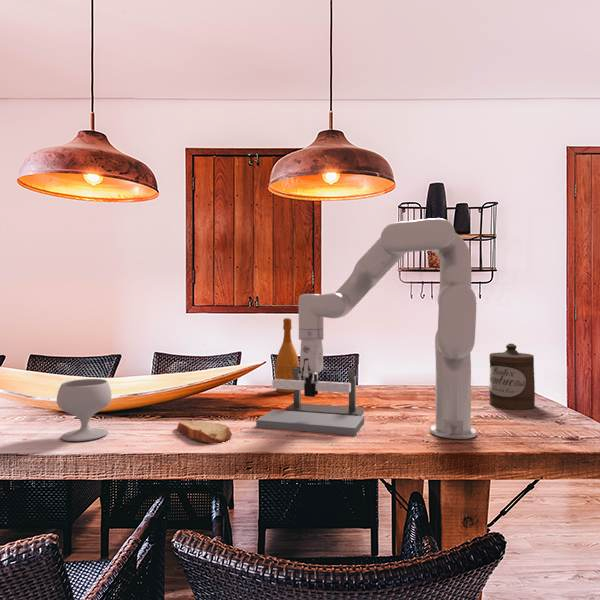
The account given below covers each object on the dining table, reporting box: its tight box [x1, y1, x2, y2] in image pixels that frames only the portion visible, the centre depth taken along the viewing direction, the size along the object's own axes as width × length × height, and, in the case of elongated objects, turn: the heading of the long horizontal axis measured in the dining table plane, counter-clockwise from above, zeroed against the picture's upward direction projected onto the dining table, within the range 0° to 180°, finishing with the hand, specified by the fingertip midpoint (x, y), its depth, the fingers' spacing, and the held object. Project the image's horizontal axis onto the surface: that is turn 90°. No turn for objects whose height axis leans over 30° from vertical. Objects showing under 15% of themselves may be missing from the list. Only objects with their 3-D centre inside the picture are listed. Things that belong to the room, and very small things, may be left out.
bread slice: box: [176, 420, 233, 444], centre depth 137 cm, size 18×18×4 cm
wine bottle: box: [274, 317, 300, 394], centre depth 200 cm, size 10×10×30 cm
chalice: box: [56, 378, 112, 442], centre depth 136 cm, size 14×14×15 cm
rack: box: [283, 366, 365, 416], centre depth 163 cm, size 10×25×15 cm, turn 73°
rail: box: [271, 378, 351, 394], centre depth 147 cm, size 2×24×2 cm, turn 73°
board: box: [255, 409, 365, 436], centre depth 147 cm, size 14×30×2 cm, turn 73°
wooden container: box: [488, 343, 536, 410], centre depth 174 cm, size 15×15×22 cm
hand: (311, 394), depth 147 cm, fingers closed on rail, 2 cm apart
